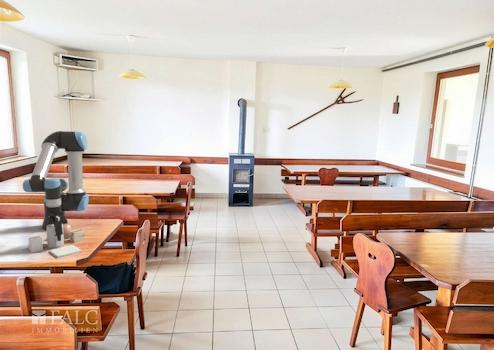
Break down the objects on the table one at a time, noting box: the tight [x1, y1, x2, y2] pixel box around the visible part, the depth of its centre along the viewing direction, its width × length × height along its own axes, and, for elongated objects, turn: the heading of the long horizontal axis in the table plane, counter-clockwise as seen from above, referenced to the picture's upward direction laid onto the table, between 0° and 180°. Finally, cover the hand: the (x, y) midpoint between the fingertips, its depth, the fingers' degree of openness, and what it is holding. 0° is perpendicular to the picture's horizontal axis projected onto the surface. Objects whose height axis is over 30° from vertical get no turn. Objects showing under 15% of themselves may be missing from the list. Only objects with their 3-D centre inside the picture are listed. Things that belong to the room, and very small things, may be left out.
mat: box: [48, 244, 83, 259], centre depth 175 cm, size 12×12×1 cm
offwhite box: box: [28, 235, 44, 253], centre depth 176 cm, size 5×5×7 cm
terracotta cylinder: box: [63, 223, 72, 240], centre depth 196 cm, size 6×6×8 cm
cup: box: [46, 224, 65, 249], centre depth 183 cm, size 8×8×12 cm
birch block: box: [69, 228, 86, 244], centre depth 193 cm, size 6×6×6 cm
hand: (55, 243), depth 184 cm, fingers open, 9 cm apart
